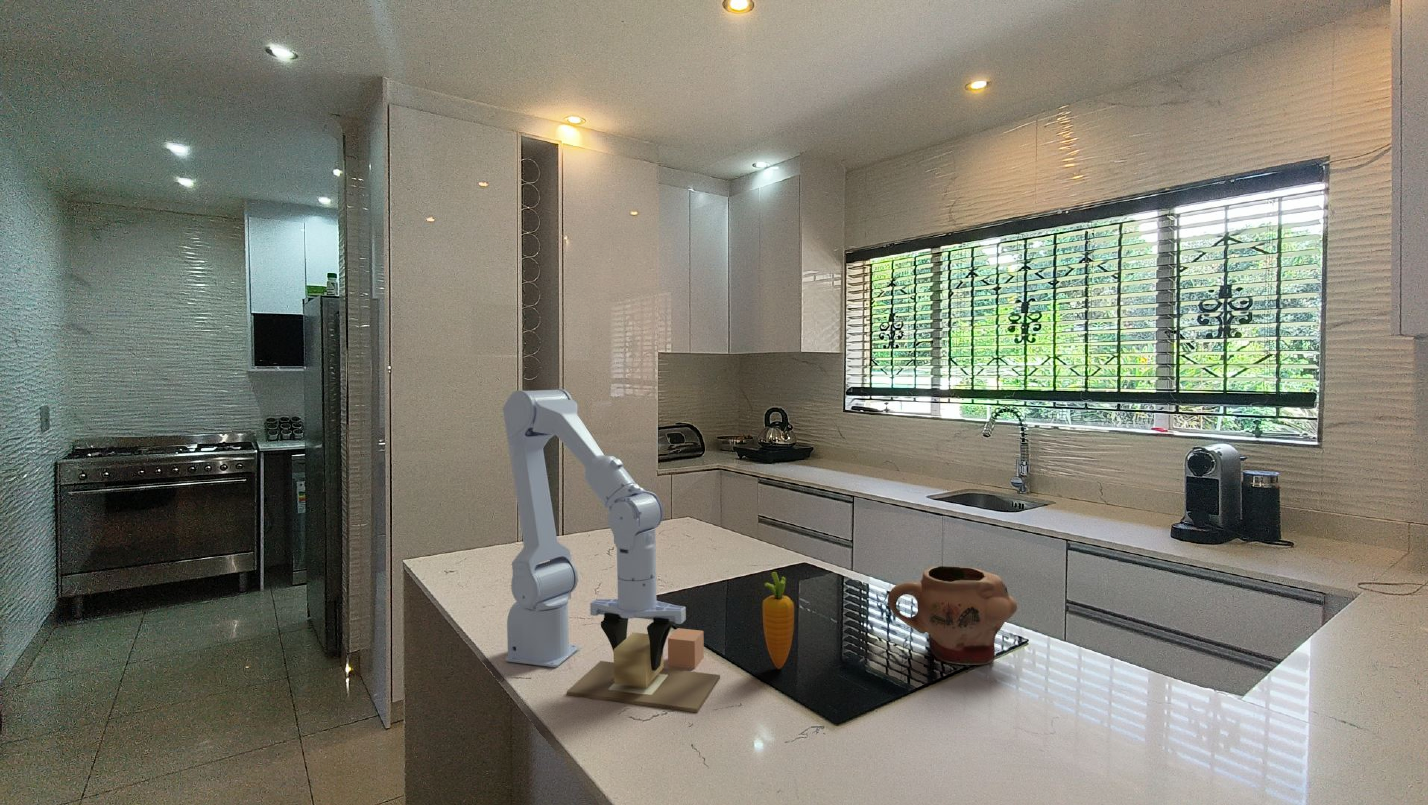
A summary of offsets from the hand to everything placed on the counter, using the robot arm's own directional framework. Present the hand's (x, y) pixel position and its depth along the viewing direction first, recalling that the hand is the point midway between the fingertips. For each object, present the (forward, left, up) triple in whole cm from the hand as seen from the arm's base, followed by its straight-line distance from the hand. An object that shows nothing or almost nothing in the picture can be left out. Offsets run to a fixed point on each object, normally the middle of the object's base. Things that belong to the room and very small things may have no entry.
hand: (638, 665), depth 102 cm
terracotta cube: (+4, +10, -3) cm, 11 cm away
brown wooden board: (+1, 0, -3) cm, 3 cm away
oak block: (0, 0, -2) cm, 2 cm away
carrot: (+19, +11, -3) cm, 22 cm away
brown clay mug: (+45, +23, -3) cm, 51 cm away
